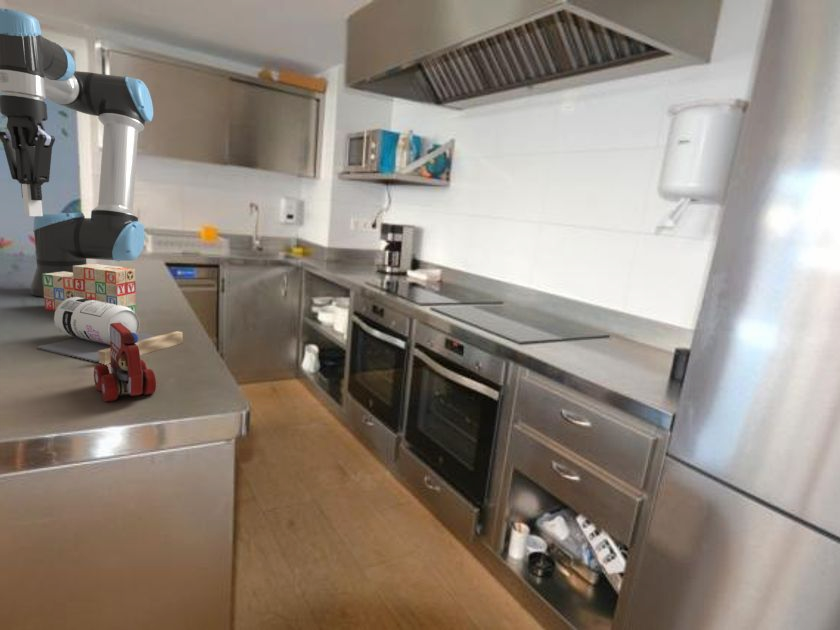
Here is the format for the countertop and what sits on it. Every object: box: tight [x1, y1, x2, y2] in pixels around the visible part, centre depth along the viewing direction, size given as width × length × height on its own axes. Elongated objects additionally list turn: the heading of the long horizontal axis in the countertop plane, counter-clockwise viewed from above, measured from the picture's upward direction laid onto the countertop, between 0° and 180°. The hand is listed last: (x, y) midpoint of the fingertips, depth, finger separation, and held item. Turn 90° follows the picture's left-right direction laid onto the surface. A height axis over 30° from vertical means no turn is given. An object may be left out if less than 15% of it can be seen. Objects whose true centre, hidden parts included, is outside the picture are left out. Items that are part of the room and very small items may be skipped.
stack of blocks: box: [42, 263, 137, 315], centre depth 122 cm, size 21×6×12 cm, turn 79°
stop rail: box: [98, 330, 184, 365], centre depth 97 cm, size 18×2×2 cm, turn 161°
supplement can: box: [53, 297, 141, 345], centre depth 100 cm, size 8×8×15 cm
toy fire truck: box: [93, 323, 157, 403], centre depth 77 cm, size 7×12×10 cm, turn 43°
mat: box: [36, 331, 157, 363], centre depth 100 cm, size 18×16×1 cm
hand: (33, 215), depth 104 cm, fingers closed
